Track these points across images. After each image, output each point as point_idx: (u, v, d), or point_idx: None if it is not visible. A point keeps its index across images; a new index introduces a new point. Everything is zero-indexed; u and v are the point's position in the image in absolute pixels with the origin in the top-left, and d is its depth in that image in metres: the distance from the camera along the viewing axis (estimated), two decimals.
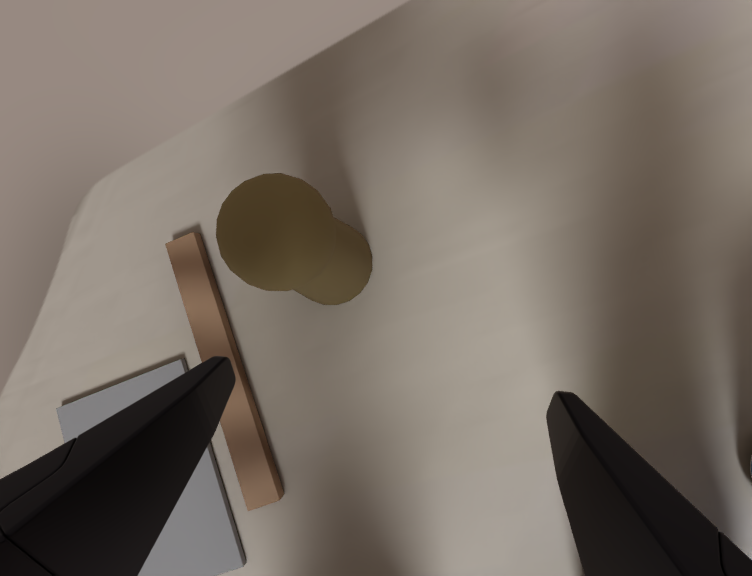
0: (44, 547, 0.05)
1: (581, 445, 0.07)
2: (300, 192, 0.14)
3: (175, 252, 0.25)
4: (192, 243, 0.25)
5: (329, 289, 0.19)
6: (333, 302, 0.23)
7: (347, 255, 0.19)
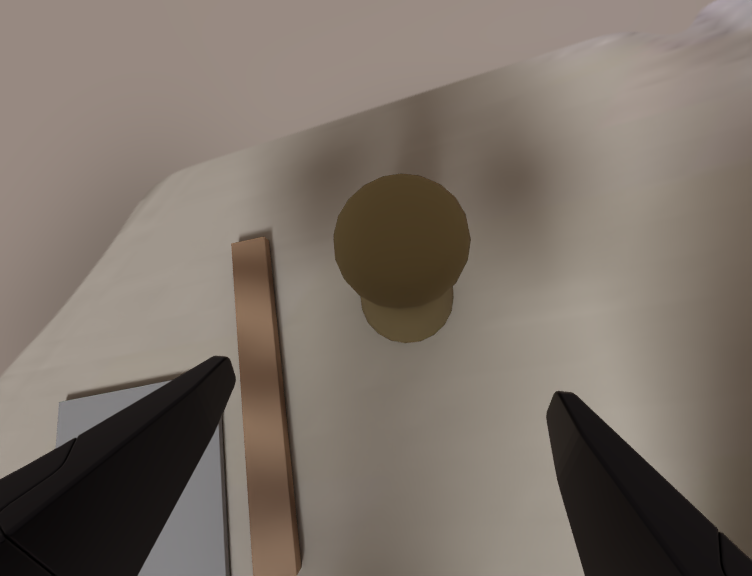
0: (44, 548, 0.05)
1: (581, 445, 0.07)
2: (448, 198, 0.12)
3: (240, 254, 0.23)
4: (260, 248, 0.23)
5: (418, 321, 0.17)
6: (405, 339, 0.20)
7: None
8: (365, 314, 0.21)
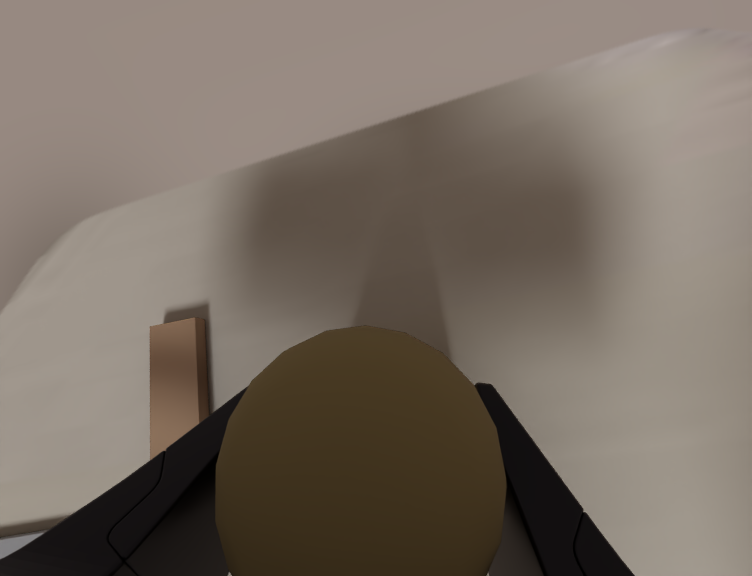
0: (152, 569, 0.05)
1: None
2: (459, 417, 0.05)
3: (160, 343, 0.17)
4: (189, 334, 0.16)
5: None
6: None
7: None
8: None
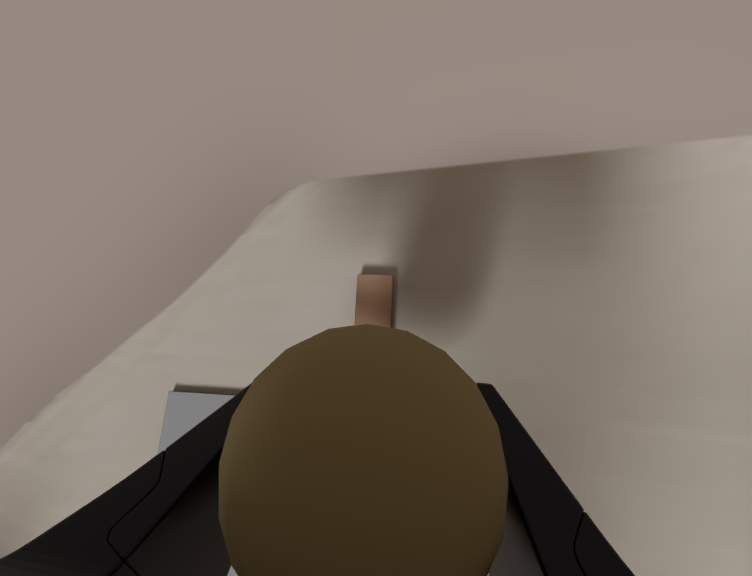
0: (151, 569, 0.05)
1: None
2: (461, 415, 0.05)
3: (365, 287, 0.23)
4: (387, 286, 0.23)
5: None
6: None
7: None
8: None
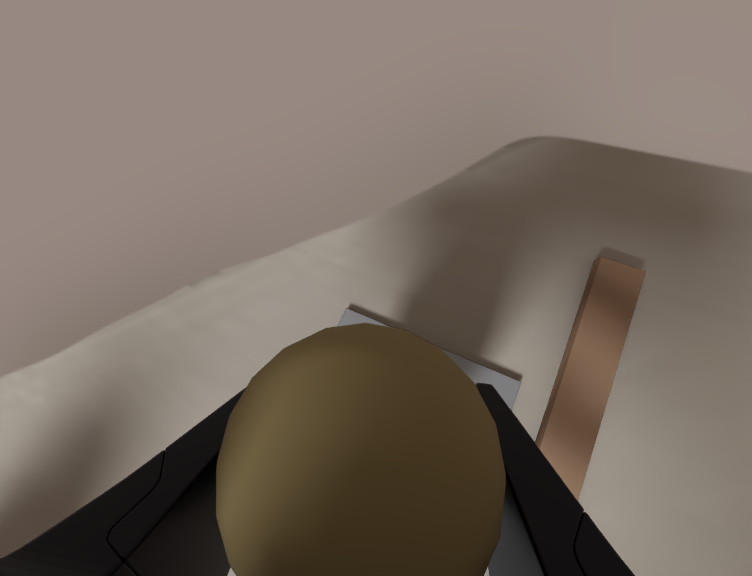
0: (151, 569, 0.05)
1: None
2: (458, 412, 0.05)
3: (607, 274, 0.19)
4: (635, 282, 0.19)
5: None
6: None
7: None
8: None
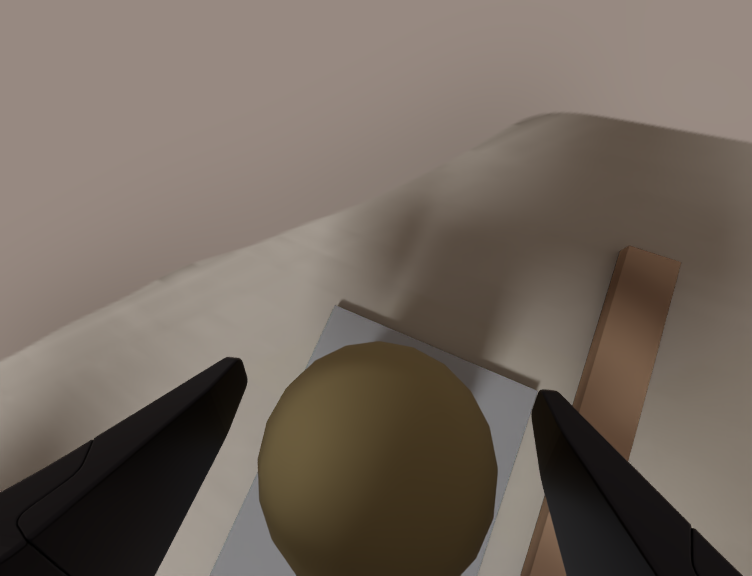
0: (64, 551, 0.05)
1: (562, 443, 0.07)
2: (458, 418, 0.06)
3: (636, 266, 0.17)
4: (669, 274, 0.16)
5: None
6: None
7: None
8: None
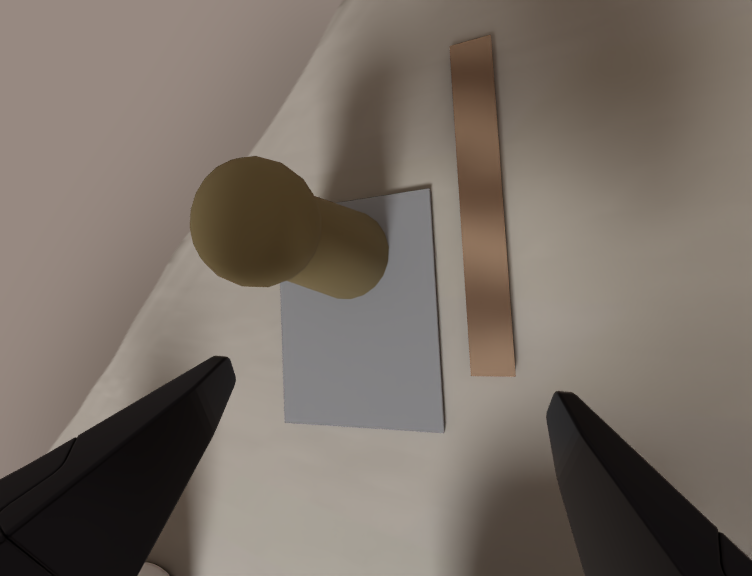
0: (44, 548, 0.05)
1: (581, 445, 0.07)
2: (258, 167, 0.12)
3: (460, 58, 0.20)
4: (485, 49, 0.20)
5: (341, 275, 0.18)
6: (357, 292, 0.21)
7: (348, 231, 0.17)
8: None
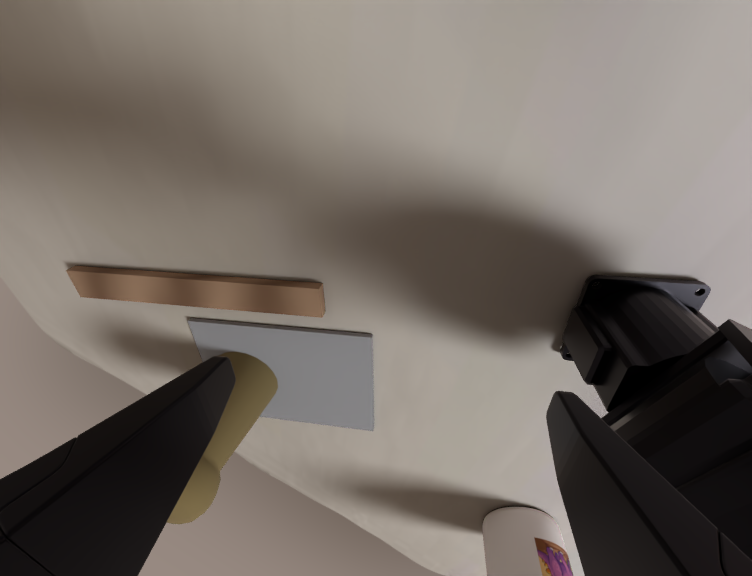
0: (44, 548, 0.05)
1: (581, 445, 0.07)
2: None
3: (87, 291, 0.26)
4: (77, 275, 0.26)
5: (234, 410, 0.25)
6: (266, 380, 0.28)
7: None
8: (268, 402, 0.29)
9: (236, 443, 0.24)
